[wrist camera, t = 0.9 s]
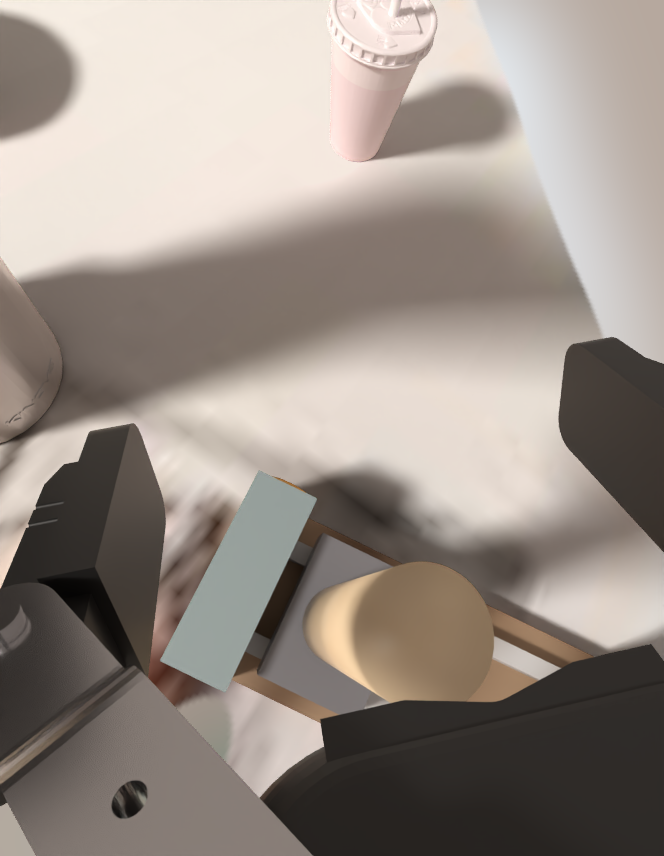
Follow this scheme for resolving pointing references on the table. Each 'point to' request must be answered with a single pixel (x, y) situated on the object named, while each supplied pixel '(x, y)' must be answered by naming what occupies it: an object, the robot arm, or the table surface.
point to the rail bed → (509, 673)
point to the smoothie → (373, 67)
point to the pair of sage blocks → (239, 581)
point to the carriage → (378, 632)
